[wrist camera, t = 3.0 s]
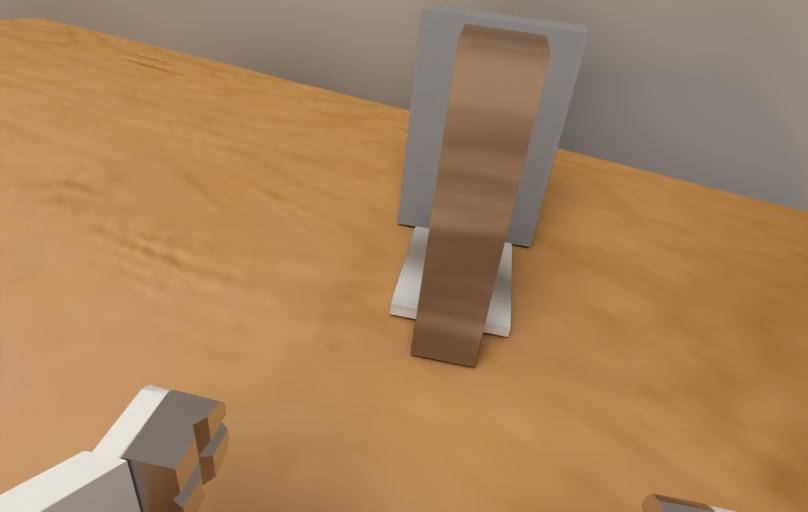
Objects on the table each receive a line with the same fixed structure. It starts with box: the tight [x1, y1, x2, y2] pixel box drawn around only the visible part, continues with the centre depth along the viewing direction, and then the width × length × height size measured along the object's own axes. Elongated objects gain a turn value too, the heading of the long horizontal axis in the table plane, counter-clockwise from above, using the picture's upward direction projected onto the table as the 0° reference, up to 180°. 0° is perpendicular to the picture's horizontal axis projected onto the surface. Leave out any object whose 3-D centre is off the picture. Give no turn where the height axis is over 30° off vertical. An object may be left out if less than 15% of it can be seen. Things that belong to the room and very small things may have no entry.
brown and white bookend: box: [390, 24, 551, 367], centre depth 24 cm, size 10×6×13 cm, turn 170°
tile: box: [398, 3, 589, 247], centre depth 30 cm, size 2×8×12 cm, turn 80°
